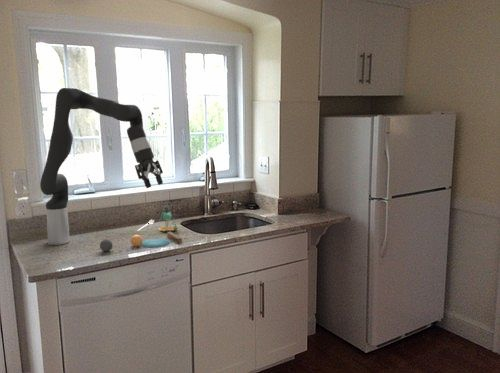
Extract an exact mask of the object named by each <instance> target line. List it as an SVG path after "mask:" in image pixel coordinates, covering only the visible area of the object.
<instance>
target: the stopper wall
mask: <svg viewBox="0 0 500 373" xmlns="http://www.w3.org/2000/svg"><path fill="white" fill-rule="evenodd" d="M166 237H167V238H168V239H169V240H171V241H173V242H175V243H176V244H178V245H180V244H183V238H182V237H181V236H179V235H177V234H176V233H173V231H166Z"/></svg>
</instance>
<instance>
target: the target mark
mask: <svg viewBox="0 0 500 373" xmlns="http://www.w3.org/2000/svg"><path fill="white" fill-rule="evenodd" d="M170 243H171V242H170V239H165V238H150V239H145V240H142V244H141V245H140V246H142V247H144V248H150V249H151V248H152V249H153V247H156V248H162V246H163V247H166V246H168V245H170Z"/></svg>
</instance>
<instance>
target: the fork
mask: <svg viewBox="0 0 500 373" xmlns="http://www.w3.org/2000/svg"><path fill="white" fill-rule="evenodd" d="M148 223H149V224H148ZM154 223H155V220H154V219H150V220H149V221H148V222H147V223H146V224H144V225H143V226H141V227H140V228H139V229H137V230H136V232H139V231H141V230H143V229H144V228H146V227H148V226H150V225H153V224H154Z"/></svg>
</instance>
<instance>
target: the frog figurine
mask: <svg viewBox="0 0 500 373" xmlns="http://www.w3.org/2000/svg"><path fill="white" fill-rule="evenodd" d="M172 212H173V211H172V209H169V206H168V205H166V206H165V211H164V210H161V212H160V213H161V217H160V218H159V219H158V221H161V220H164V222H165V223H164V225H165V226H159V228H158V231H160V232H172V233H174V234H176V235H177V234H180V232H179V228H178V226H177V225H176V224H175V223H174V225H170V223H169V221H171V220H172V219H173V220H172V222H175V221H176V219H175V217H174V216H173V215H172Z"/></svg>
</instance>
